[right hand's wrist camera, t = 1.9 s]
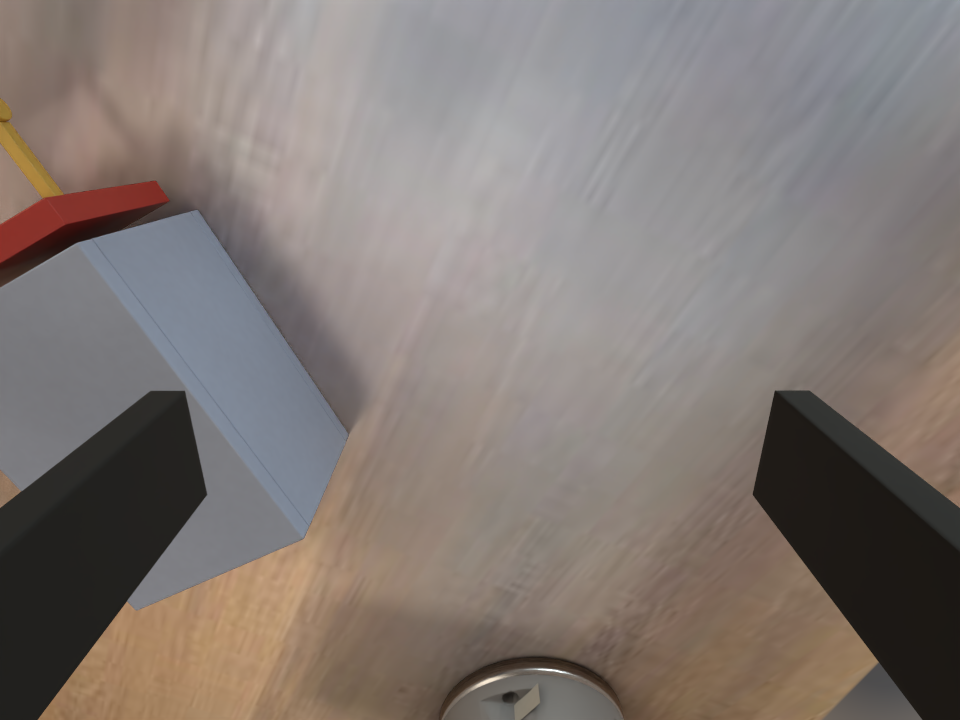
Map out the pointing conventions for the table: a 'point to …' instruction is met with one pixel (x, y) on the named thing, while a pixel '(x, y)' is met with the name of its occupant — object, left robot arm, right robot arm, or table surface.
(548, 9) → the table surface
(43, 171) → the drawer
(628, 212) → the table surface
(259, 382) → the cabinet
